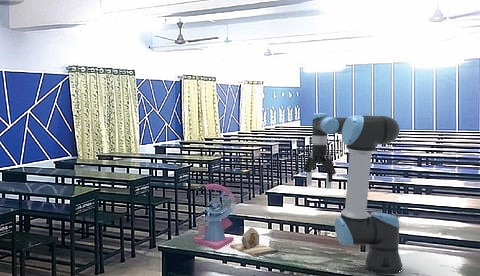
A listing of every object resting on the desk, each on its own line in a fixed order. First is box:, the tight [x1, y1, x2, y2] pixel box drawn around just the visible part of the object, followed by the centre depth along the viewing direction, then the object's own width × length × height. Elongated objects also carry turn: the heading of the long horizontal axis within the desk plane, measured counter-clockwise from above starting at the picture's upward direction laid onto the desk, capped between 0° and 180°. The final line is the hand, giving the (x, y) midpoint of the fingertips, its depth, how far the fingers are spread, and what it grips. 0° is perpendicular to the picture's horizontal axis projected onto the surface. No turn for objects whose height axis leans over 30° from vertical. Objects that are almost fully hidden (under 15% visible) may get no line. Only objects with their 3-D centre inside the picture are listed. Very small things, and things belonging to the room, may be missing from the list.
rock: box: [240, 227, 260, 249], centre depth 244 cm, size 12×7×10 cm, turn 148°
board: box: [229, 242, 279, 258], centre depth 242 cm, size 20×14×1 cm
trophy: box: [193, 183, 237, 251], centre depth 248 cm, size 20×17×30 cm
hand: (318, 186), depth 253 cm, fingers open, 13 cm apart
